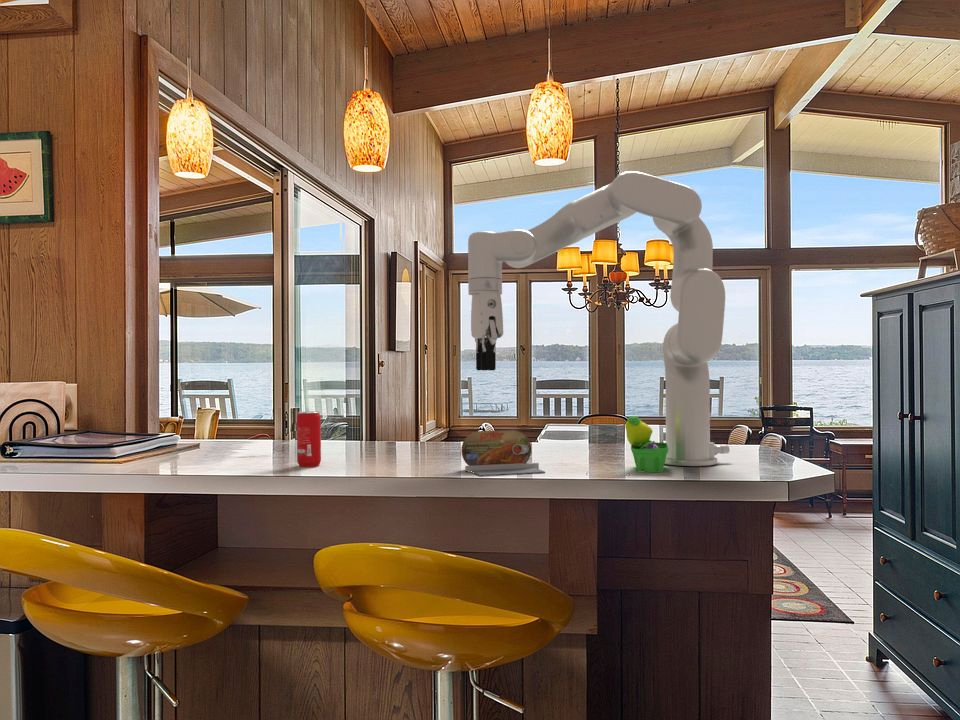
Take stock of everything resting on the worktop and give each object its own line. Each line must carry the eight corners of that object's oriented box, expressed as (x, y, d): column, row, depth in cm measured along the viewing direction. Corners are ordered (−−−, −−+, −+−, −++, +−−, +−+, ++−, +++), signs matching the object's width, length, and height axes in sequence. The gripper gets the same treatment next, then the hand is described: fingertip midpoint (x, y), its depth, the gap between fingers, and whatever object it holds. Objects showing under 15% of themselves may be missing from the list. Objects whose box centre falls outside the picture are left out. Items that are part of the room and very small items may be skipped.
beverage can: (293, 465, 172) (293, 412, 172) (315, 463, 175) (314, 411, 175) (303, 468, 168) (302, 413, 168) (325, 466, 171) (324, 412, 171)
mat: (537, 468, 166) (537, 462, 166) (549, 472, 159) (549, 466, 159) (465, 471, 161) (465, 466, 161) (474, 476, 154) (474, 470, 154)
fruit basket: (669, 473, 157) (668, 418, 157) (625, 472, 159) (624, 417, 159) (667, 466, 168) (666, 414, 168) (625, 465, 170) (625, 414, 170)
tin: (462, 471, 162) (462, 431, 162) (460, 469, 166) (460, 430, 166) (531, 468, 165) (531, 429, 165) (528, 467, 168) (527, 428, 169)
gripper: (513, 284, 166) (513, 370, 165) (490, 291, 181) (490, 369, 181) (479, 283, 163) (480, 370, 163) (459, 290, 179) (459, 370, 179)
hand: (485, 369), depth 172 cm, fingers open, 3 cm apart
